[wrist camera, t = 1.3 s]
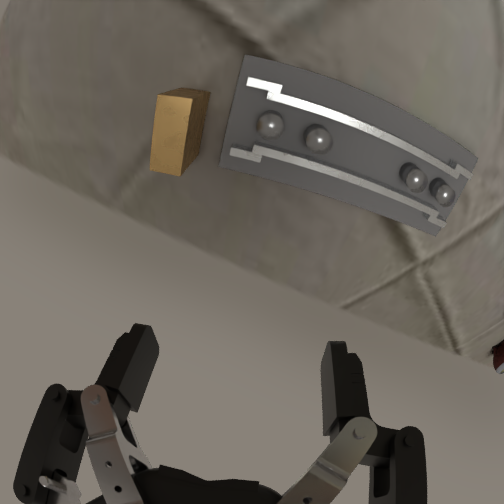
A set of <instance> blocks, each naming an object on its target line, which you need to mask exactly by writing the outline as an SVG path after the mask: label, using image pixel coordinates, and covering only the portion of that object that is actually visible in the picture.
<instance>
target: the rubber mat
mask: <svg viewBox="0 0 504 504" xmlns="http://www.w3.org/2000/svg"><path fill="white" fill-rule="evenodd" d="M248 77H253V78H258V79H262V80H266V81H270V82H274V83H278V84H282V88H281V93H284V94H288V95H291V96H295V97H298V98H301V99H305V100H308V101H311V102H314V103H317V104H320V105H323V106H326V107H328V108H331V109H334V110H337V111H339V112H342V113H345V114H347V115H350V116H352V117H355V118H357V119H360V120H362V121H364V122H367V123H369V124H371V125H374V126H376V127H378V128H380V129H383V130H385V131H387V132H389V133H391V134H393V135H395V136H397V137H399V138H401V139H403V140H405V141H407V142H409V143H411V144H413V145H415V146H417V147H419V148H420V149H422V150H424V151H426V152H428V153H429V154H431V155H433V156H435V157H436V158H438V159H440V160H441V161H443V162H445V163H446V164H449V162H450V160H451V159H452V160H454V161H455V162H457V163H458V164H460V165H461V166H463V167H464V168H466V169H467V170H468V171H470V172H471V173H472V171H473V169H474V167H475V165H476V162H477V160H478V158H477V157H476V156H475V155H473V154H472V153H471V152H469V151H468V150H467V149H465V148H464V147H462V146H461V145H460V144H458V143H457V142H455V141H454V140H452V139H451V138H449V137H448V136H446V135H445V134H443V133H442V132H440V131H438V130H437V129H435V128H434V127H432V126H430V125H429V124H427V123H425V122H424V121H422V120H420V119H418V118H417V117H415V116H413V115H411V114H409V113H408V112H406V111H404V110H402V109H400V108H398V107H396V106H394V105H392V104H390V103H388V102H386V101H384V100H382V99H380V98H378V97H375V96H373V95H371V94H369V93H366V92H364V91H362V90H360V89H357V88H355V87H352V86H350V85H347V84H345V83H342V82H340V81H337V80H334V79H331V78H329V77H326V76H323V75H320V74H317V73H314V72H311V71H308V70H305V69H301V68H298V67H295V66H291V65H287V64H284V63H280V62H276V61H272V60H268V59H264V58H259V57H255V56H250V55H245V56H244V60H243V63H242V67H241V71H240V75H239V79H238V83H237V87H236V91H235V95H234V99H233V103H232V107H231V111H230V116H229V120H228V124H227V129H226V133H225V138H224V143H223V147H222V152H221V157H220V161H219V166H218V167H222V168H226V169H230V170H234V171H238V172H242V173H246V174H250V175H254V176H258V177H262V178H266V179H269V180H273V181H277V182H280V183H284V184H287V185H291V186H294V187H298V188H301V189H304V190H308V191H311V192H314V193H318V194H321V195H324V196H327V197H330V198H333V199H336V200H340V201H343V202H346V203H349V204H351V205H354V206H357V207H360V208H363V209H366V210H369V211H372V212H374V213H377V214H380V215H383V216H385V217H388V218H391V219H393V220H396V221H399V222H401V223H404V224H406V225H409V226H411V227H414V228H416V229H419V230H421V231H424V232H426V233H429V234H431V235H433V236H436V235H437V234H438V232H439V231H440V229H441V227H440V226H438V225H436V224H434V223H431V222H429V221H427V220H426V218H425V217H424V215H423V211H420V210H418V209H416V208H414V207H411V206H409V205H407V204H404V203H402V202H400V201H397V200H395V199H392V198H390V197H387V196H385V195H382V194H380V193H377V192H375V191H372V190H370V189H367V188H364V187H362V186H359V185H356V184H353V183H351V182H348V181H345V180H342V179H339V178H336V177H333V176H330V175H327V174H324V173H321V172H318V171H315V170H312V169H309V168H306V167H302V166H299V165H296V164H292V163H289V162H285V161H282V160H278V159H275V158H271V157H267V156H264V155H262V158H261V161H260V163H259V162H256V161H252V160H248V159H244V158H240V157H235V156H231V155H230V150H231V147H232V145H233V143H235V144H239V145H243V146H247V147H251V148H253V146H254V143H255V141H258V142H262V143H266V144H270V145H274V146H277V147H281V148H284V149H288V150H291V151H295V152H298V153H301V154H304V155H308V156H311V157H314V158H317V159H320V160H323V161H326V162H329V163H332V164H335V165H338V166H340V167H343V168H346V169H349V170H352V171H354V172H357V173H360V174H362V175H365V176H367V177H370V178H372V179H375V180H377V181H380V182H382V183H385V184H387V185H390V186H392V187H394V188H397V189H399V190H401V191H403V192H406V193H408V194H410V195H412V196H415V197H417V198H419V199H421V200H423V201H425V202H427V203H429V204H431V205H434V206H435V207H436V209H437V210H438V211H439V214H438V215H440V216H442V217H443V219H444V220H445V221H446V219H447V217H448V216H449V214H450V212H451V211H452V209H453V207H454V205H455V203H456V202H457V200H458V198H459V196H460V194H461V192H462V191H463V189H464V187H465V185H466V183H467V181H468V178H467V177H465V176H463V175H462V174H460V175H459V177H458V179H456V178H454V177H453V176H451V175H450V174H448V173H446V172H444V171H443V170H441V169H439V168H438V167H436V166H434V165H432V164H431V163H429V162H427V161H425V160H423V159H421V158H419V157H418V156H416V155H414V154H412V153H410V152H408V151H406V150H404V149H402V148H400V147H398V146H396V145H394V144H391V143H389V142H387V141H385V140H383V139H381V138H378V137H376V136H374V135H372V134H369V133H367V132H364V131H362V130H360V129H357V128H355V127H352V126H350V125H347V124H344V123H342V122H339V121H336V120H334V119H331V118H328V117H325V116H322V115H319V114H316V113H313V112H310V111H307V110H304V109H301V108H298V107H294V106H291V105H287V104H284V103H280V102H277V101H273V100H269V99H266V98H267V95H268V90H264V89H260V88H256V87H251V86H247V85H246V84H247V81H248ZM267 110H275V111H277V112H279V113H280V114H281V115H282V116H283V119H284V132H283V134H282V135H281V136H280V137H279V138H278V139H275V140H266V139H264V138H262V137H261V136H260V135H259V134H258V132H257V128H256V126H257V122H258V120H259V117H260V115H261V114H262V113H263V112H265V111H267ZM311 124H321V125H323V126H324V127H325V128H326V129H327V130H328V132H329V133H330V135H331V136H332V138H333V146H332V149H331V150H330V151H329V152H328V153H326V154H323V155H317V154H314V153H312V152H311V151H310V150H309V149H308V147H307V144H306V141H305V138H304V132H305V130H306V128H307V127H308V126H309V125H311ZM408 162H411V163H414V164H415V165H416V166H417V167H418V168H419V169H420V170H422V171H423V172H424V173H425V174H426V176H427V178H428V185H427V187H426V189H425V190H424V191H422V192H420V193H414V192H412V191H411V190H410V189H409V188H408V187H407V185H406V184H405V183H404V182H403V181H402V180H401V178H400V176H399V171H400V168H401V166H402V165H403V164H405V163H408ZM435 178H442V179H443V180H444V181H445V182H446V183H447V184H448V185H449V186H450V187H451V188H452V189H453V190H454V191H455V194H456V197H455V200H454V202H453V204H452V205H450V206H449V207H442V206H441V205H440V204H439V203H438V202H437V200H436V199H435V198H434V197H433V196H432V195H431V194H430V192H429V185H430V182H431V181H432V180H433V179H435Z"/></svg>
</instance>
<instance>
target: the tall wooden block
mask: <svg viewBox="0 0 504 504" xmlns="http://www.w3.org/2000/svg"><path fill="white" fill-rule="evenodd" d="M209 96H210V92H207V91H201V90H194V89H187V88H179V89H175V90H172V91H168V92H165V93H161V94H158V97H157V104H156V111H155V119H154V127H153V136H152V147H151V158H150V170H152V171H157V172H162V173H167V174H172V175H176V176H181V175H182V174H183V173H184V171H185V170H186V169H187V168H188V166H189V165H190V164H191V163H192V162H193V160H194V159H195V158H196V157H197V156H198V154H199V148H200V142H201V137H202V131H203V126H204V121H205V116H206V111H207V106H208V101H209Z"/></svg>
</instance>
